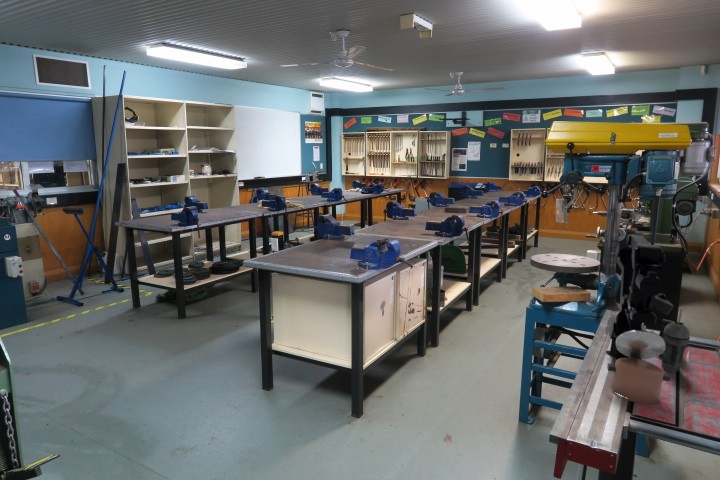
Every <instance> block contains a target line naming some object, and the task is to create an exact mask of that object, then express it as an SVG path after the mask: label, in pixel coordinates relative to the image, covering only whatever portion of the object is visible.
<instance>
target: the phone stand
mask: <svg viewBox="0 0 720 480" xmlns="http://www.w3.org/2000/svg"><path fill="white" fill-rule="evenodd" d="M673 322H677V321H676V320H672V319H667V318H663V319H662V321H661V324H660V331H659V333H658V335H659V336H661V337H662V338H663V331H664V328H665V327H666V326H667V325H668V324H670V323H673ZM680 323H681V324H683V325H685V323H684V322H682V321H680ZM658 357H661V358H662V354H661V355H659V356H658Z"/></svg>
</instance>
